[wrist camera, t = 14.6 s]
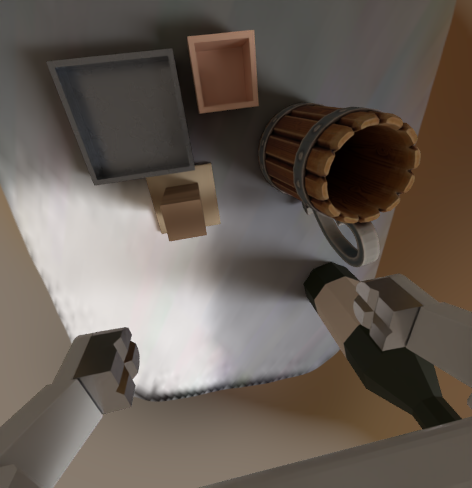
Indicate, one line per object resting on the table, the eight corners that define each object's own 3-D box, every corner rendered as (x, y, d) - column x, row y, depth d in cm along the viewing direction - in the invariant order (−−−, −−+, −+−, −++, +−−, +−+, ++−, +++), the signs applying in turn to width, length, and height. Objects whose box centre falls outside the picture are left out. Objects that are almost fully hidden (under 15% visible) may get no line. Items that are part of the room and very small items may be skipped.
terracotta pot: (187, 47, 25) (187, 36, 22) (245, 41, 26) (253, 29, 22) (198, 113, 28) (199, 113, 25) (250, 107, 29) (258, 105, 25)
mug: (246, 119, 29) (292, 123, 16) (330, 90, 29) (446, 69, 16) (274, 232, 37) (321, 297, 24) (341, 208, 37) (425, 260, 24)
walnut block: (165, 187, 31) (159, 205, 24) (198, 182, 31) (200, 199, 25) (173, 217, 32) (169, 241, 26) (203, 212, 33) (206, 234, 27)
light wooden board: (145, 172, 30) (144, 173, 29) (210, 163, 31) (211, 163, 30) (162, 232, 34) (161, 233, 33) (220, 222, 34) (220, 223, 34)
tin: (61, 67, 24) (45, 61, 22) (173, 55, 25) (172, 48, 23) (102, 179, 29) (94, 185, 27) (194, 165, 30) (195, 170, 28)
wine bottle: (356, 280, 44) (606, 527, 18) (319, 308, 46) (496, 572, 19) (333, 252, 40) (605, 511, 14) (293, 284, 42) (469, 569, 16)
